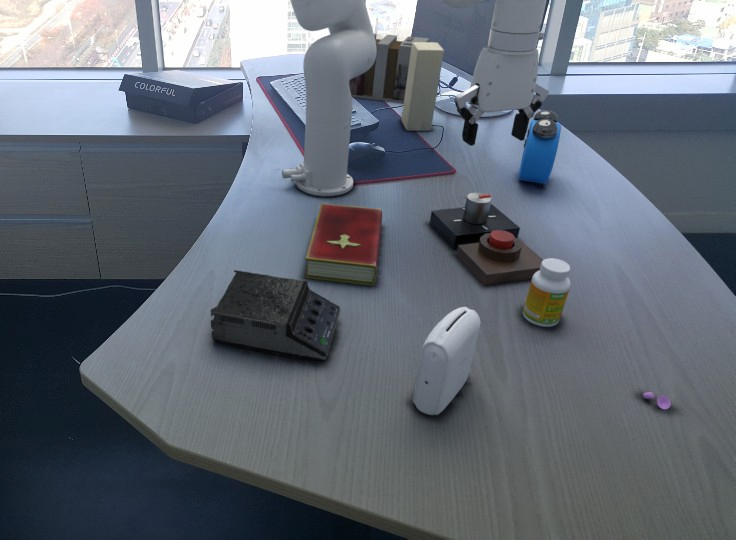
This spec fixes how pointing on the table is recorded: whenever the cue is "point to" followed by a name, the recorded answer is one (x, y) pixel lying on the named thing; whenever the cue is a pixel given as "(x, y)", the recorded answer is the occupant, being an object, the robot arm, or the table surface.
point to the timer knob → (477, 208)
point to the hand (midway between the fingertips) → (493, 140)
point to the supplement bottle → (547, 293)
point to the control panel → (468, 226)
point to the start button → (501, 239)
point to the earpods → (659, 400)
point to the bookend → (386, 71)
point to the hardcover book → (345, 244)
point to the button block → (499, 261)
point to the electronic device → (275, 317)
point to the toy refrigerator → (422, 85)
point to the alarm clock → (540, 148)
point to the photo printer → (446, 360)
